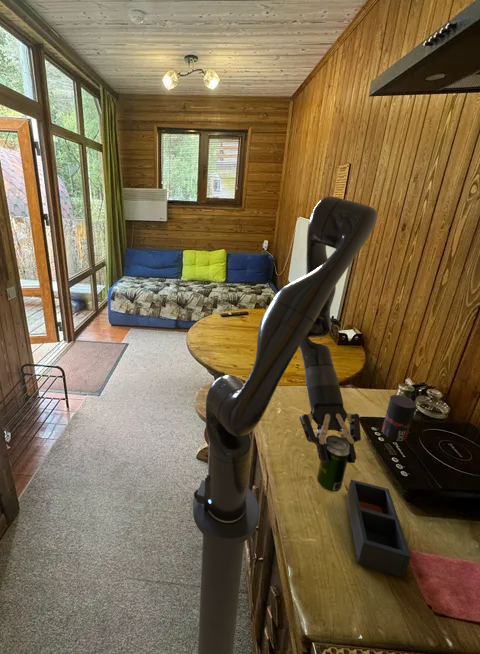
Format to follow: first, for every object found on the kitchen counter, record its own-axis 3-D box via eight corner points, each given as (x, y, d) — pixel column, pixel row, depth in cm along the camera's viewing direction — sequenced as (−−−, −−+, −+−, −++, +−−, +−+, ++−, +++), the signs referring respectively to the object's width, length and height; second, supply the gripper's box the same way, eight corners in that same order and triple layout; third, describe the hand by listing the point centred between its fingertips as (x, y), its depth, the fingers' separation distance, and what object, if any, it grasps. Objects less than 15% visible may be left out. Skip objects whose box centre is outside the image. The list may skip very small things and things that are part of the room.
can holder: (357, 563, 59) (363, 542, 58) (346, 497, 73) (350, 479, 71) (403, 577, 57) (411, 557, 55) (383, 507, 71) (388, 488, 69)
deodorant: (391, 454, 86) (403, 409, 81) (374, 439, 91) (385, 396, 86) (408, 451, 87) (421, 406, 82) (390, 436, 93) (402, 393, 88)
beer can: (346, 488, 72) (356, 447, 68) (330, 497, 69) (339, 455, 66) (327, 471, 76) (335, 431, 73) (311, 479, 74) (319, 439, 70)
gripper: (300, 383, 72) (314, 464, 65) (358, 382, 73) (379, 462, 66) (289, 389, 79) (301, 463, 72) (343, 389, 80) (360, 462, 72)
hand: (338, 462), depth 69 cm, fingers closed on beer can, 5 cm apart
